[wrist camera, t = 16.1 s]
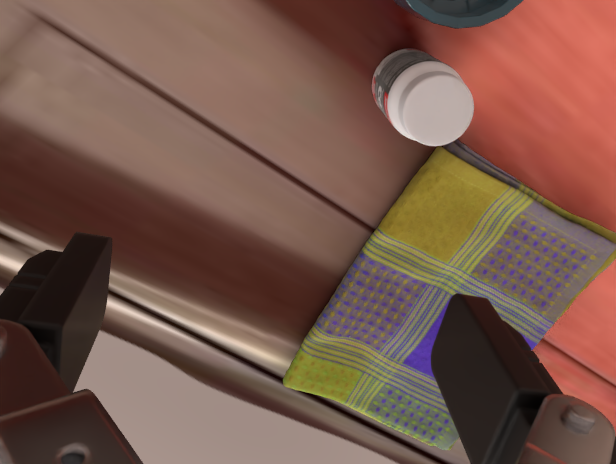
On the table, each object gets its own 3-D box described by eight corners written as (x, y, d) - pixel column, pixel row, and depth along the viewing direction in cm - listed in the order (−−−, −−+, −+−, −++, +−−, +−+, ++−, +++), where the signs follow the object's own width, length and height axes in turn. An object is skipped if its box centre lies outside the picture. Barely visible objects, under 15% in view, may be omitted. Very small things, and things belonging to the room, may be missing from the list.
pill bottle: (356, 81, 40) (377, 109, 32) (411, 32, 39) (446, 48, 31) (400, 132, 41) (429, 169, 34) (453, 85, 40) (496, 114, 33)
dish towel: (271, 365, 49) (271, 387, 47) (450, 119, 41) (461, 129, 39) (435, 443, 54) (443, 467, 51) (623, 235, 46) (644, 251, 43)
